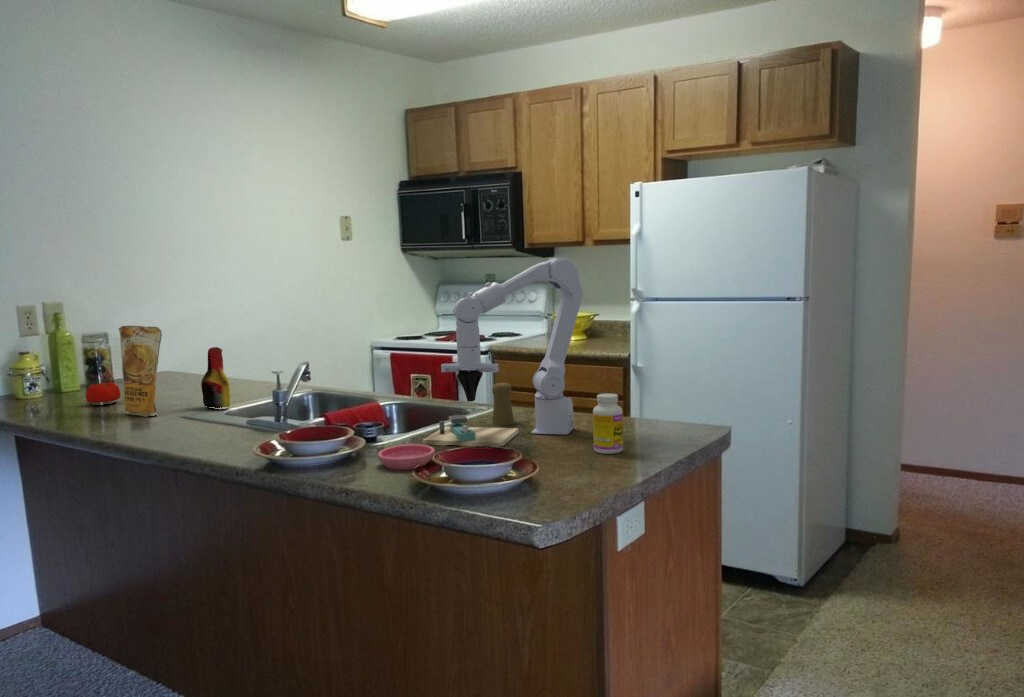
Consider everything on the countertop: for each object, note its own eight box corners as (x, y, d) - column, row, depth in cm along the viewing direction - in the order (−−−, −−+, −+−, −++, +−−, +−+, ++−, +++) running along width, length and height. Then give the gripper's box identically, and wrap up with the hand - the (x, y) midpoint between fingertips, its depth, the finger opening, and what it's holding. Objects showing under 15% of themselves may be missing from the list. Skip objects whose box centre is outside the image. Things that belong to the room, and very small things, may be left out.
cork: (511, 425, 203) (510, 384, 202) (489, 425, 204) (488, 385, 203) (516, 420, 209) (514, 381, 208) (494, 420, 210) (493, 381, 209)
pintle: (469, 438, 185) (469, 425, 184) (467, 439, 183) (467, 426, 183) (464, 438, 185) (463, 425, 185) (462, 439, 184) (461, 426, 183)
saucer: (404, 475, 160) (403, 460, 159) (366, 467, 168) (366, 453, 167) (446, 462, 169) (446, 448, 169) (409, 454, 177) (408, 441, 177)
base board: (518, 433, 194) (518, 428, 194) (501, 447, 180) (500, 442, 180) (445, 430, 200) (445, 426, 200) (422, 444, 185) (422, 439, 185)
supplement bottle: (615, 456, 168) (614, 398, 166) (588, 453, 171) (587, 396, 170) (628, 449, 173) (626, 393, 172) (601, 446, 177) (600, 391, 175)
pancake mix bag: (136, 410, 249) (128, 324, 245) (171, 414, 238) (163, 325, 235) (116, 414, 243) (108, 326, 240) (151, 418, 233) (142, 327, 229)
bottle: (237, 408, 244) (232, 346, 242) (219, 412, 239) (213, 349, 237) (217, 405, 252) (212, 345, 249) (199, 409, 247) (193, 347, 244)
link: (475, 439, 183) (475, 432, 183) (460, 441, 182) (459, 434, 182) (463, 429, 195) (462, 422, 195) (448, 430, 194) (448, 423, 194)
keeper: (468, 435, 193) (467, 418, 192) (440, 438, 191) (439, 420, 191) (464, 431, 198) (463, 414, 198) (437, 433, 197) (436, 416, 196)
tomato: (98, 408, 255) (95, 386, 254) (80, 406, 261) (78, 384, 260) (128, 403, 264) (126, 381, 263) (111, 401, 270) (109, 380, 269)
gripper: (501, 344, 190) (503, 398, 191) (447, 344, 194) (450, 397, 196) (491, 347, 183) (494, 403, 185) (436, 348, 188) (439, 402, 189)
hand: (471, 400), depth 190 cm, fingers closed
